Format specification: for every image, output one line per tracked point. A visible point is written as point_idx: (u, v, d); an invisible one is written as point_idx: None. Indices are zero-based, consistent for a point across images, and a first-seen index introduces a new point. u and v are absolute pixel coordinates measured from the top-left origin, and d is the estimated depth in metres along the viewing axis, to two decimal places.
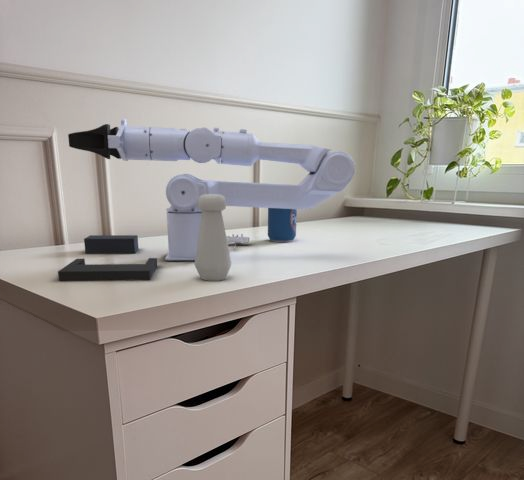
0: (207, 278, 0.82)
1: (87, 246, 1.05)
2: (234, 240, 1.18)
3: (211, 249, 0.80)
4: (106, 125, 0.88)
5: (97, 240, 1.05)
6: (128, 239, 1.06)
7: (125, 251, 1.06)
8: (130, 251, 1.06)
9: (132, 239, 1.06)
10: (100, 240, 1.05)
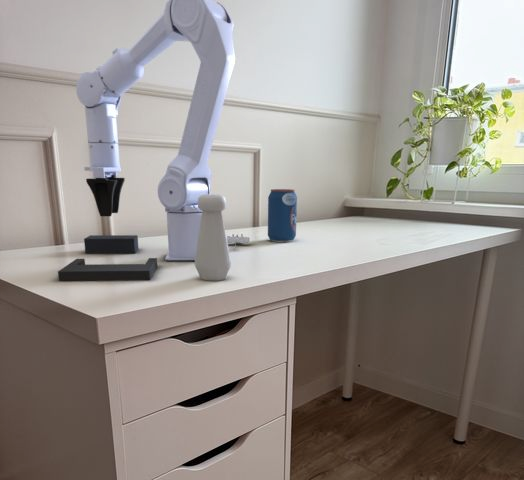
0: (207, 278, 0.82)
1: (87, 246, 1.05)
2: (234, 240, 1.18)
3: (211, 249, 0.80)
4: (86, 179, 0.98)
5: (97, 240, 1.05)
6: (128, 239, 1.06)
7: (125, 251, 1.06)
8: (130, 251, 1.06)
9: (132, 239, 1.06)
10: (100, 240, 1.05)
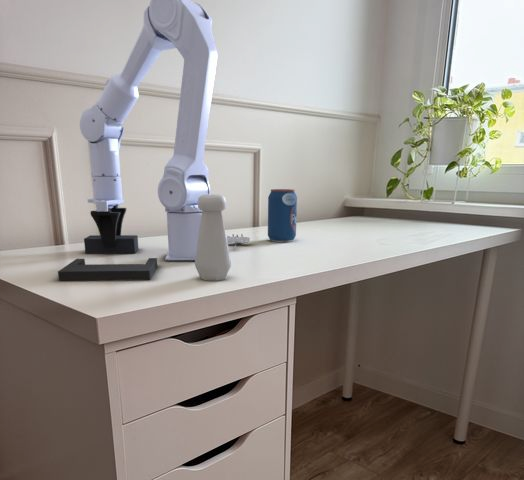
0: (207, 278, 0.82)
1: (87, 246, 1.05)
2: (234, 240, 1.18)
3: (211, 249, 0.80)
4: (91, 212, 1.01)
5: (97, 240, 1.05)
6: (128, 239, 1.06)
7: (125, 251, 1.06)
8: (130, 251, 1.06)
9: (132, 239, 1.06)
10: (100, 240, 1.05)
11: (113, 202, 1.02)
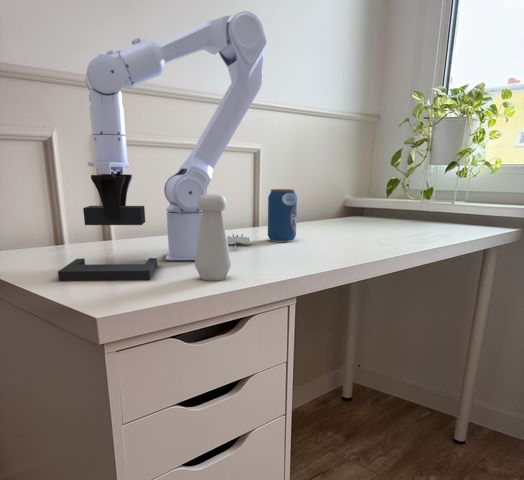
0: (207, 278, 0.82)
1: (87, 216, 0.92)
2: (234, 240, 1.18)
3: (211, 249, 0.80)
4: (91, 176, 0.88)
5: (98, 209, 0.92)
6: (134, 209, 0.92)
7: (131, 222, 0.93)
8: (136, 223, 0.93)
9: (138, 209, 0.92)
10: (102, 210, 0.92)
11: (117, 164, 0.88)
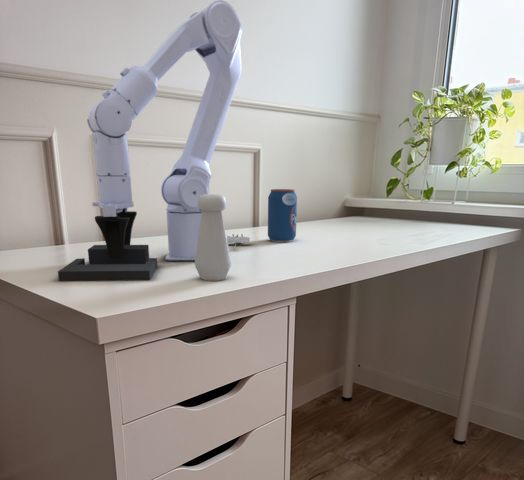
0: (207, 278, 0.82)
1: (91, 258, 0.92)
2: (234, 240, 1.18)
3: (211, 249, 0.80)
4: (95, 218, 0.87)
5: (103, 251, 0.92)
6: (138, 250, 0.92)
7: (135, 263, 0.93)
8: (140, 263, 0.93)
9: (143, 250, 0.93)
10: (106, 251, 0.92)
11: (122, 206, 0.88)
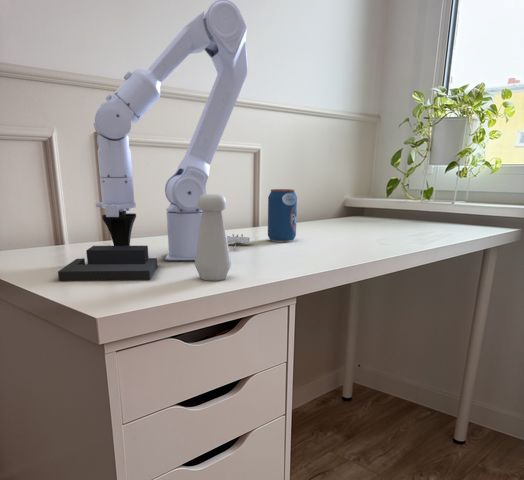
0: (207, 278, 0.82)
1: (90, 259, 0.91)
2: (234, 240, 1.18)
3: (211, 249, 0.80)
4: (102, 216, 0.93)
5: (101, 252, 0.91)
6: (137, 250, 0.91)
7: None
8: None
9: (142, 250, 0.92)
10: (105, 252, 0.91)
11: (124, 206, 0.91)
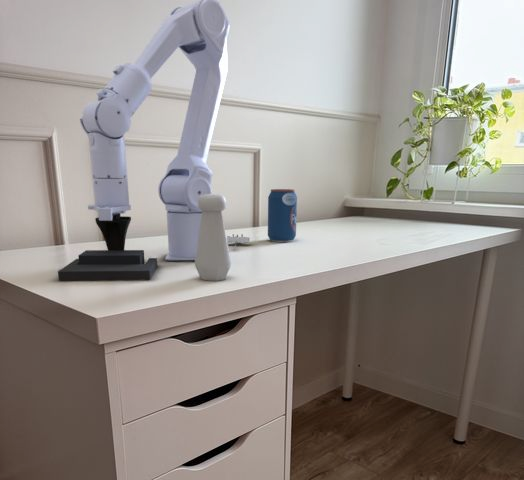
0: (207, 278, 0.82)
1: (82, 264, 0.86)
2: (234, 240, 1.18)
3: (211, 249, 0.80)
4: (96, 219, 0.88)
5: (94, 257, 0.86)
6: (133, 256, 0.86)
7: None
8: None
9: (137, 256, 0.86)
10: (98, 257, 0.86)
11: (118, 209, 0.85)
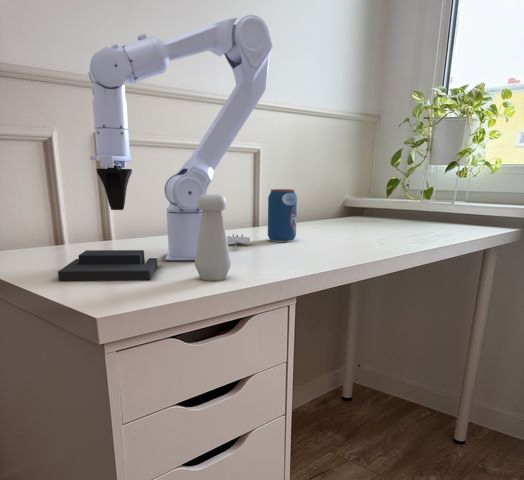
0: (207, 278, 0.82)
1: (82, 264, 0.86)
2: (234, 240, 1.18)
3: (211, 249, 0.80)
4: (97, 169, 0.90)
5: (94, 257, 0.86)
6: (133, 256, 0.86)
7: None
8: None
9: (137, 256, 0.86)
10: (98, 257, 0.86)
11: (119, 158, 0.88)
